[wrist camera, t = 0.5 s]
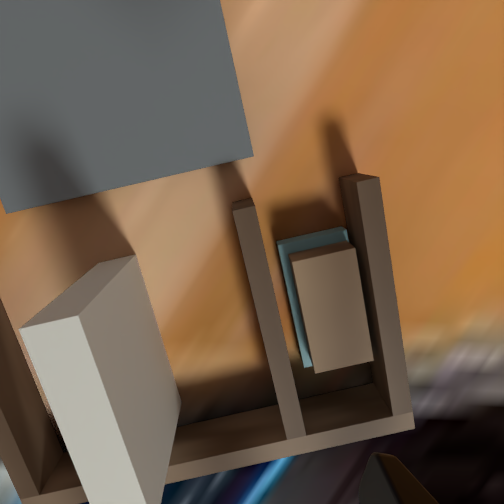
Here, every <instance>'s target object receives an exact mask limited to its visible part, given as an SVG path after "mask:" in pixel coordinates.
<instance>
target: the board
mask: <svg viewBox="0 0 504 504" xmlns="http://www.w3.org/2000/svg"><path fill="white" fill-rule="evenodd" d="M19 331H20V334H21V336H22V339H23V341H24V343H25V346H26V348H27V351H28V353H29V356H30V358H31V361H32V363H33V366H34V368H35V371H36V373H37V375H38V378H39V380H40V383H41V385H42V388H43V390H44V393H45V395H46V398H47V400H48V402H49V405H50V407H51V410H52V412H53V415H54V417H55V420H56V422H57V425H58V427H59V430H60V432H61V434H62V437H63V439H64V442H65V444H66V447H67V449H68V452H69V454H70V457H71V459H72V462H73V464H74V466H75V469H76V471H77V474H78V476H79V479H80V481H81V484H82V486H83V489H84V491H85V494H86V496H87V498H88V501H89V503H90V504H161V499H162V494H163V490H164V485H165V480H166V475H167V470H168V465H169V461H170V456H171V451H172V446H173V441H174V436H175V432H176V427H177V422H178V417H179V412H180V407H181V403H182V402H181V399H180V395H179V392H178V389H177V386H176V382H175V379H174V376H173V373H172V369H171V366H170V363H169V360H168V356H167V353H166V350H165V347H164V344H163V340H162V337H161V334H160V331H159V327H158V324H157V321H156V318H155V314H154V311H153V308H152V305H151V302H150V298H149V295H148V292H147V289H146V285H145V282H144V279H143V276H142V272H141V269H140V266H139V263H138V260H137V256H136V254H135V255H131V256H126V257H122V258H118V259H113V260H109V261H105V262H100V263H98V264H97V265H95V266H94V267H93V268H92V269H91V270H89V271H88V272H87V273H86V274H84V275H83V276H82V277H81V278H80V279H78V280H77V281H76V282H75V283H74V284H72V285H71V286H70V287H69V288H68V289H66V290H65V291H64V292H63V293H62V294H60V295H59V296H58V297H57V298H56V299H54V300H53V301H52V302H51V303H50V304H48V305H47V306H46V307H45V308H44V309H42V310H41V311H40V312H39V313H37V314H36V315H35V316H34V317H33V318H31V319H30V320H29V321H28V322H27V323H25V324H24V325H23V326H22V327H21V328H19Z"/></svg>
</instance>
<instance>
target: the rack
mask: <svg viewBox="0 0 504 504" xmlns="http://www.w3.org/2000/svg"><path fill="white" fill-rule="evenodd" d="M339 182H340V188H341V193H342V199H343V205H344V211H345V217H346V223H347V229H348V235H349V241H350V244H351V245H352V246H354V247H355V249H356V255H357V261H358V268H359V274H360V280H361V286H362V292H363V298H364V304H365V310H366V316H367V323H368V329H369V335H370V341H371V347H372V353H373V359H374V361H370V367H371V373H372V378H373V383H371V384H367V385H362V386H358V387H353V388H349V389H344V390H340V391H335V392H331V393H327V394H322V395H318V396H313V397H309V398H304V399H300V400H298V396H297V391H296V387H295V383H294V378H293V374H292V369H291V365H290V360H289V356H288V351H287V347H286V342H285V338H284V333H283V329H282V325H281V320H280V316H279V311H278V307H277V302H276V298H275V293H274V289H273V284H272V280H271V275H270V271H269V267H268V262H267V258H266V253H265V249H264V244H263V240H262V235H261V231H260V226H259V222H258V217H257V213H256V209H255V205H254V202H253V200H252V198H249V199H245V200H240V201H236V202H233V206H232V211H233V216H234V220H235V224H236V228H237V232H238V236H239V241H240V245H241V249H242V253H243V257H244V262H245V266H246V270H247V274H248V278H249V282H250V287H251V291H252V295H253V299H254V303H255V308H256V312H257V316H258V320H259V324H260V328H261V333H262V337H263V341H264V345H265V349H266V354H267V358H268V362H269V366H270V370H271V374H272V379H273V383H274V387H275V391H276V395H277V400H278V405H273V406H269V407H264V408H260V409H255V410H251V411H246V412H242V413H237V414H233V415H229V416H224V417H220V418H215V419H211V420H206V421H202V422H197V423H193V424H188V425H184V426H180V427H176V432H175V436H174V441H173V446H172V451H171V456H170V461H169V465H168V470H167V475H166V480H165V484H168V483H172V482H177V481H181V480H186V479H190V478H195V477H199V476H204V475H208V474H213V473H217V472H222V471H226V470H231V469H235V468H240V467H244V466H249V465H253V464H258V463H262V462H267V461H271V460H276V459H280V458H285V457H289V456H294V455H298V454H303V453H307V452H312V451H316V450H321V449H325V448H330V447H334V446H338V445H343V444H347V443H352V442H356V441H361V440H365V439H370V438H374V437H379V436H383V435H388V434H392V433H397V432H401V431H406V430H410V429H415V425H414V418H413V411H412V404H411V397H410V390H409V383H408V376H407V369H406V362H405V355H404V348H403V341H402V334H401V327H400V320H399V313H398V306H397V299H396V292H395V285H394V278H393V271H392V264H391V257H390V250H389V243H388V236H387V229H386V222H385V215H384V208H383V200H382V193H381V186H380V179H379V177H376V176H371V175H365V174H360V173H357V174H353V175H349V176H344V177H340V178H339ZM0 456H1V459H2V461H3V463H4V465H5V467H6V469H7V472H8V474H9V476H10V478H11V480H12V482H13V485H14V487H15V489H16V491H17V493H18V496H19V498H20V500H21V502H22V504H78V503H83V502H87V501H88V498H87V496H86V494H85V491H84V489H83V486H82V484H81V481H80V479H79V476H78V474H77V471H76V469H75V466H74V464H73V462H72V459H71V457H70V454H69V452H64V453H63V450H62V448H61V446H60V443H59V441H58V438H57V436H56V433H55V431H54V428H53V426H52V424H51V421H50V419H49V416H48V414H47V411H46V409H45V407H44V404H43V402H42V399H41V397H40V394H39V392H38V390H37V387H36V385H35V382H34V380H33V377H32V375H31V372H30V370H29V368H28V365H27V363H26V360H25V358H24V355H23V353H22V351H21V348H20V346H19V343H18V341H17V338H16V336H15V334H14V331H13V329H12V326H11V324H10V321H9V319H8V316H7V314H6V312H5V309H4V307H3V304H2V302H1V299H0Z"/></svg>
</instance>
